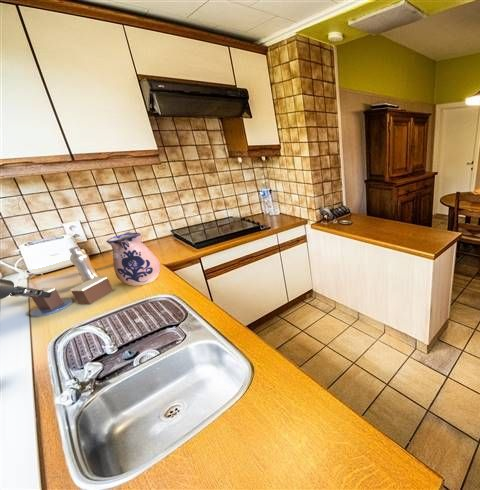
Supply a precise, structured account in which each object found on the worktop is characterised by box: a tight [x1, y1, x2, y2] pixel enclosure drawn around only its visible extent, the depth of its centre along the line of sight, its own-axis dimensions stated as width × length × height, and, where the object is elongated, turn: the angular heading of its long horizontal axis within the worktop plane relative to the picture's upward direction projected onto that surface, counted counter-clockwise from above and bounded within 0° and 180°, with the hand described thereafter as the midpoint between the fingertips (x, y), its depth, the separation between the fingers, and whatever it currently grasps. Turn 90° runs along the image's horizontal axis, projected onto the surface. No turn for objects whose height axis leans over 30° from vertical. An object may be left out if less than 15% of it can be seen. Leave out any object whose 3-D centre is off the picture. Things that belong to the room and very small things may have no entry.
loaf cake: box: [69, 276, 114, 305], centre depth 124 cm, size 11×6×8 cm, turn 175°
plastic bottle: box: [68, 246, 101, 283], centre depth 135 cm, size 6×7×20 cm
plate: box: [29, 297, 74, 318], centre depth 119 cm, size 13×13×1 cm
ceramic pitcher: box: [106, 231, 162, 287], centre depth 134 cm, size 18×21×25 cm
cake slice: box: [31, 287, 64, 310], centre depth 117 cm, size 5×6×8 cm
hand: (41, 295), depth 115 cm, fingers open, 8 cm apart
